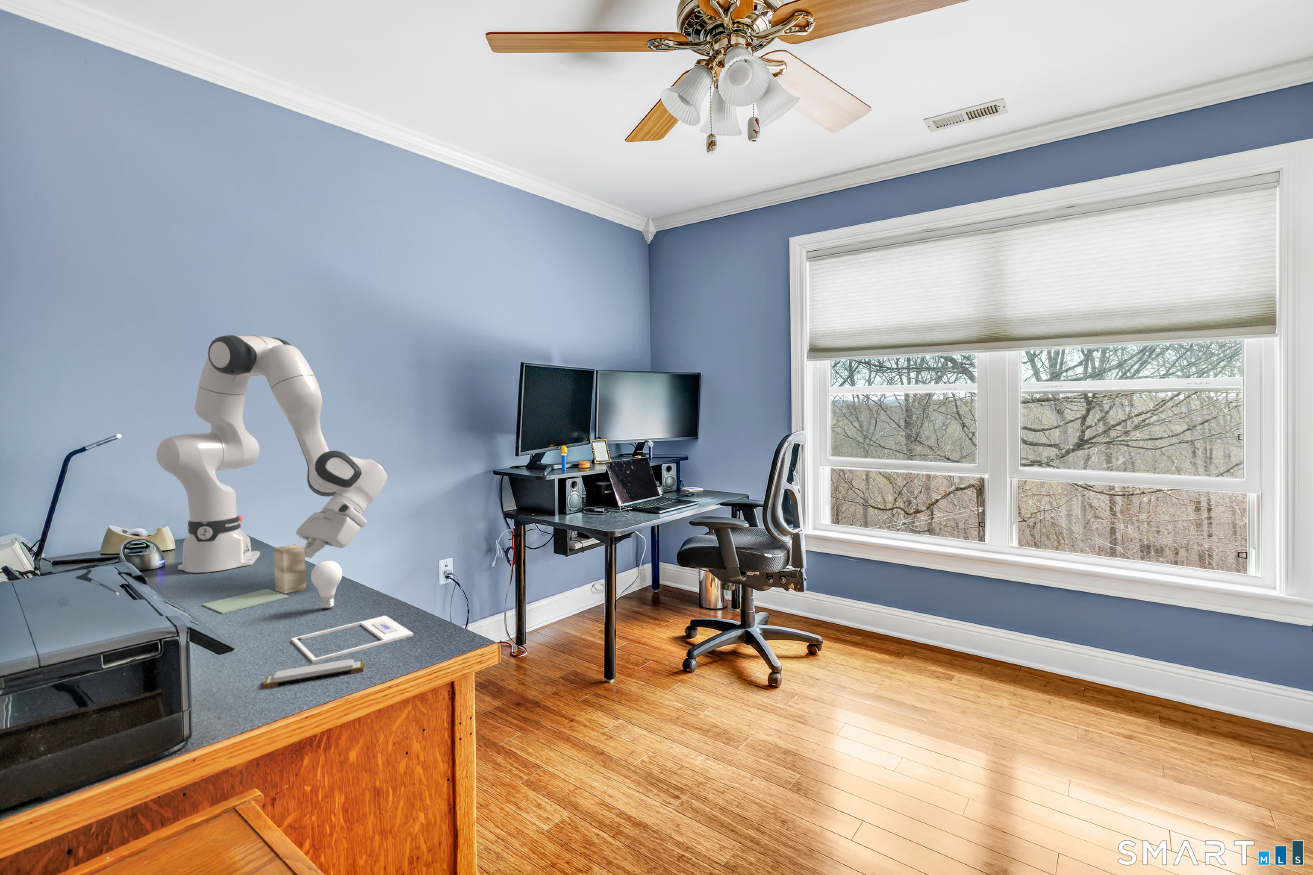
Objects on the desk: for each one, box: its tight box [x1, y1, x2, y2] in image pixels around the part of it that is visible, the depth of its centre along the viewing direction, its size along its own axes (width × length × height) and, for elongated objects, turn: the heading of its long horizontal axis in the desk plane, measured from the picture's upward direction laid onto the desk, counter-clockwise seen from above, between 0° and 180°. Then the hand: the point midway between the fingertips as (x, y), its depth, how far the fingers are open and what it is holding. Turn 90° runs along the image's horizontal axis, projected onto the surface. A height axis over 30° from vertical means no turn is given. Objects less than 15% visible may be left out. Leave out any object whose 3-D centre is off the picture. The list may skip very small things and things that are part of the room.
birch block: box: [272, 544, 307, 595], centre depth 151 cm, size 5×5×11 cm
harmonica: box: [262, 659, 364, 690], centre depth 102 cm, size 15×3×2 cm, turn 115°
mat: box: [201, 588, 290, 614], centre depth 143 cm, size 14×11×1 cm
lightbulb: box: [310, 560, 343, 610], centre depth 137 cm, size 6×6×11 cm
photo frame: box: [291, 615, 414, 664], centre depth 119 cm, size 15×1×18 cm
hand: (305, 556), depth 154 cm, fingers closed
